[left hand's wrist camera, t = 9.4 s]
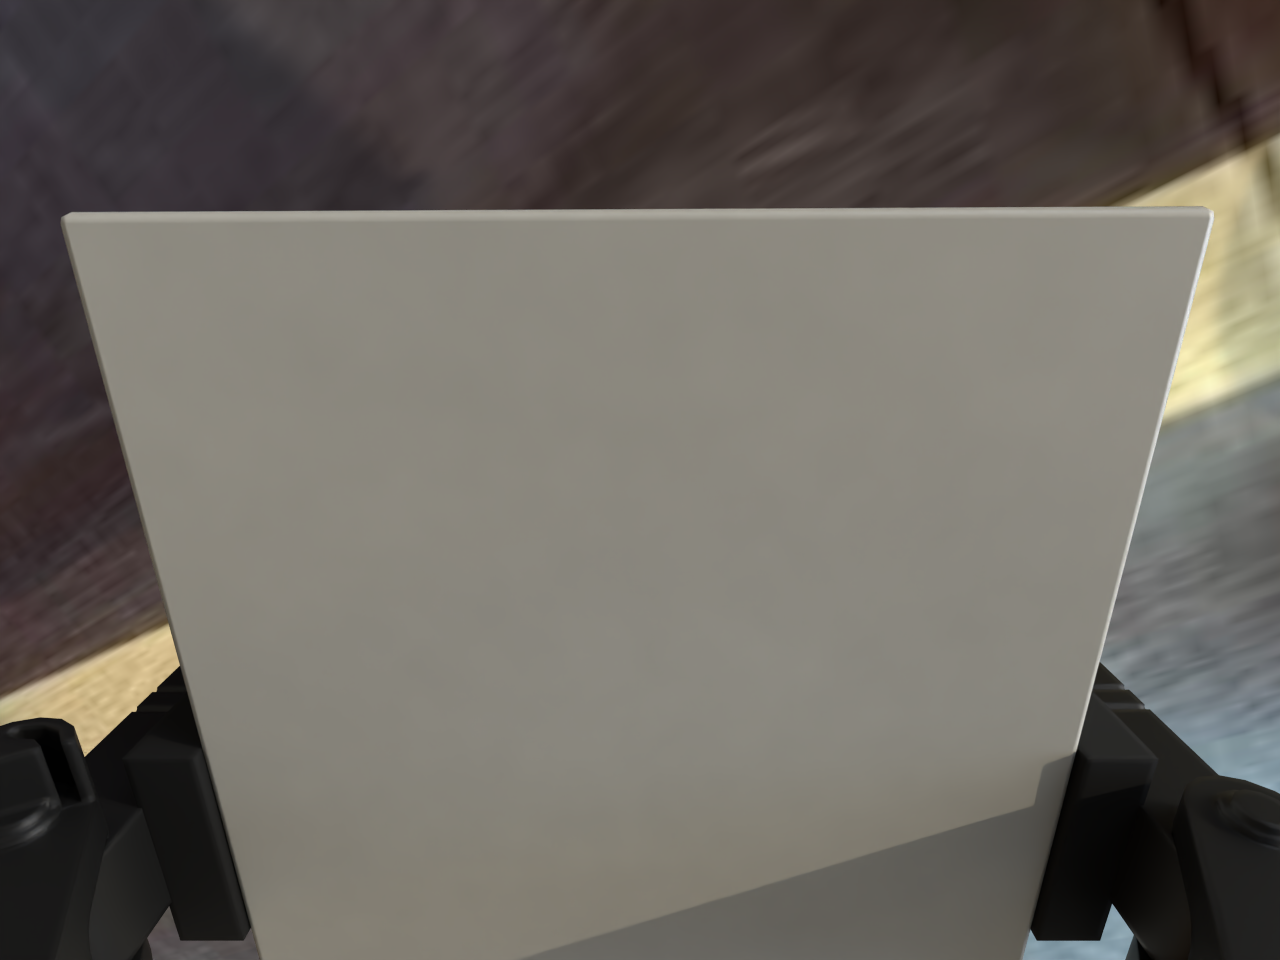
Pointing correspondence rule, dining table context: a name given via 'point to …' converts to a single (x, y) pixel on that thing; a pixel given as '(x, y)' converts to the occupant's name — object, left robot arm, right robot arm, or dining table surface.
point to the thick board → (639, 558)
